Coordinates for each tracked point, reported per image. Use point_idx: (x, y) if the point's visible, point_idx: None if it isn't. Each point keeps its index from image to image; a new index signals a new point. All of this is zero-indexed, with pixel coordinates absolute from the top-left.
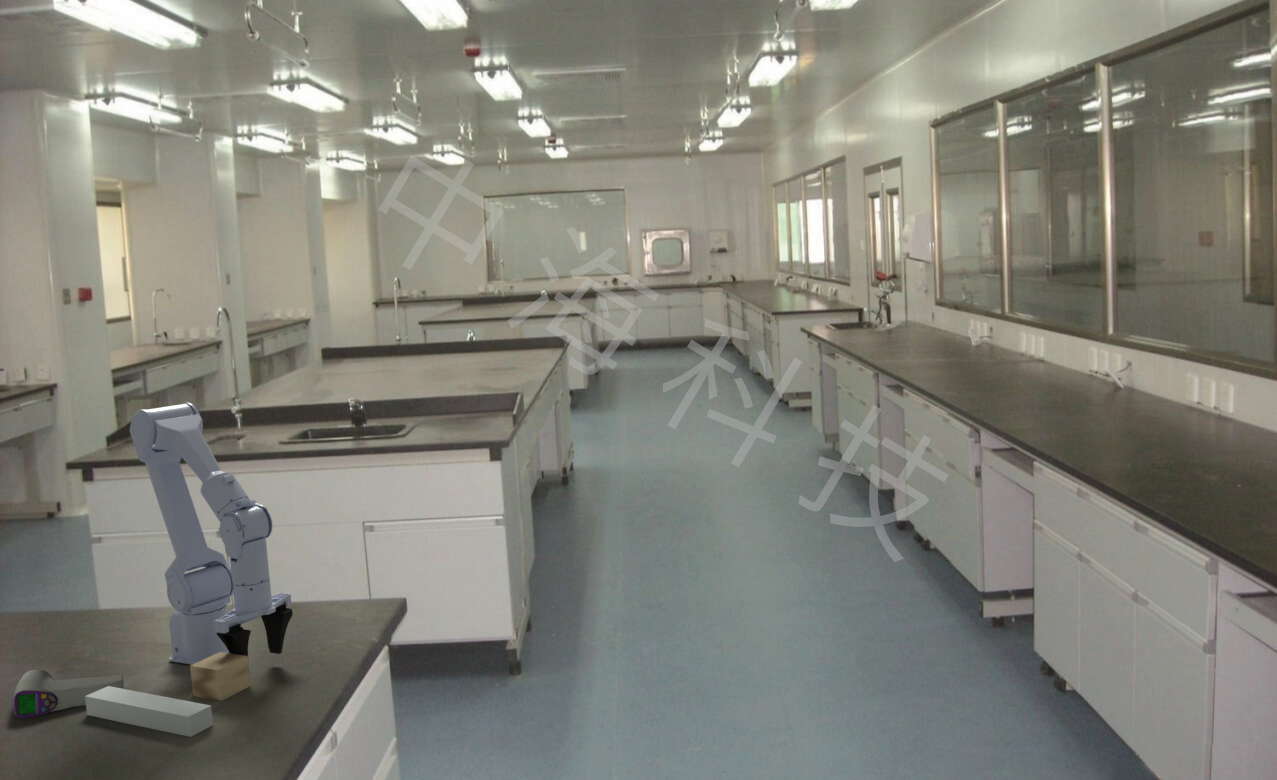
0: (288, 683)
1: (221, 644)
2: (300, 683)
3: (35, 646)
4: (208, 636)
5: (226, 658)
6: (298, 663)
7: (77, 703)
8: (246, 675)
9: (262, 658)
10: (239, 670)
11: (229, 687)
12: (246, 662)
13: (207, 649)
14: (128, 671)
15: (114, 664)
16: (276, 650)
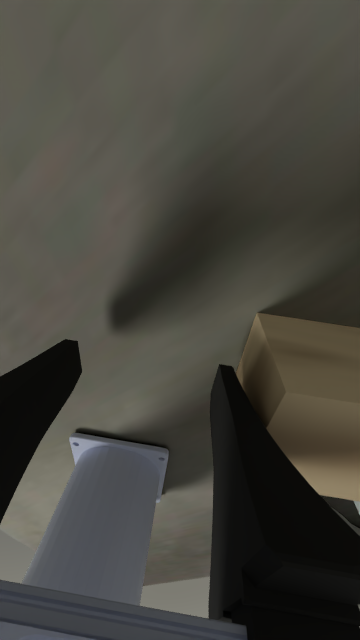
0: (225, 180)
1: (112, 479)
2: (219, 109)
3: (160, 575)
4: (130, 524)
5: (309, 447)
6: (58, 271)
7: (352, 527)
8: (280, 338)
9: (80, 383)
10: (325, 365)
11: (358, 343)
12: (288, 372)
13: (142, 487)
14: (206, 516)
15: (186, 531)
16: (73, 356)
